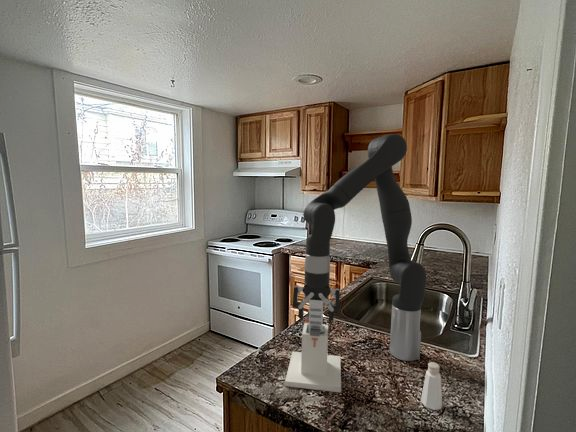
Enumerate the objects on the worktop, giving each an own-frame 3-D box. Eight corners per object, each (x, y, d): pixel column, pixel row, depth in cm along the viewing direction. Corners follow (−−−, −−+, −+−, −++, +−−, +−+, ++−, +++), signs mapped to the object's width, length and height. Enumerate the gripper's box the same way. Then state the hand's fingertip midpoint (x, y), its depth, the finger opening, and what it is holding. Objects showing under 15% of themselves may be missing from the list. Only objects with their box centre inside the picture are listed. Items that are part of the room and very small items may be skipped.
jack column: (321, 363, 96) (323, 295, 94) (320, 371, 91) (322, 301, 89) (308, 361, 96) (310, 295, 94) (307, 370, 92) (309, 300, 90)
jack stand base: (340, 360, 101) (341, 316, 99) (341, 392, 85) (342, 341, 84) (292, 355, 103) (293, 312, 102) (284, 386, 88) (285, 335, 86)
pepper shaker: (435, 413, 78) (438, 373, 77) (416, 401, 82) (418, 363, 81) (446, 405, 81) (449, 366, 80) (427, 393, 85) (429, 356, 84)
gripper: (341, 267, 94) (339, 317, 95) (295, 264, 96) (294, 313, 97) (341, 274, 86) (339, 328, 88) (292, 271, 88) (290, 324, 90)
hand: (315, 320), depth 93 cm, fingers open, 8 cm apart
